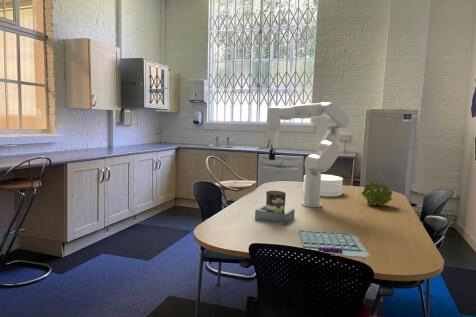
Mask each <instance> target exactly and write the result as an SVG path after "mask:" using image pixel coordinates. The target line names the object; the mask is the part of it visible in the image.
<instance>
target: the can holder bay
mask: <svg viewBox="0 0 476 317" xmlns="http://www.w3.org/2000/svg"><path fill="white" fill-rule="evenodd" d="M295 210H296V208H291V209H290V210H288V211H287V212H286V211H285V212H284V214H283V213H277V212H271V211H266V204H264V205H262V206H259V207H258V208H256V209H255V210H254V220H258V221H263V222H270V223H276V224H280V225H281V224H282V225H288V224H289V223H290V222H291V221H292V220H294V219H295V214H296V213H295V212H296V211H295Z"/></svg>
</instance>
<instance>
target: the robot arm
mask: <svg viewBox="0 0 476 317" xmlns="http://www.w3.org/2000/svg"><path fill="white" fill-rule="evenodd" d="M323 117H326V119H325V125H326V133H325V134H324V136H323V137H322V139H321V140H320V142H319V143H318V144H317V146H316V150H315V151H316V153H317V154H309V155H307V156H306V157H305V160H304V170H305V178H304V179H305V192H303V193H304V195H303V197H304V198H303V201H301V203H300V205H301V206H303V207H307V208H320V207H321V208H322V206H323V203H322V202H320V201H321V200H320V199H321V196H320V187H321V174H322V173H325V172H327V171H328V170H330V168H331V167H332V166H333V164H334V163H335V161H336V160H337V158H338V157H339V155H340V153H341V147H340V145H339V143H338V141H339V140H340V134H341V133H340V129H346V128H347V127H349V124H350V117H349V115H348V114H347V113H345V112H344V111H343V109H342V108H341V107H339V106H338V105H337V104H336V103H334V102H331V101H330V102H314V103H304V104H297V105H290V106H269V107H267V119H266V136H265V145H264V146H265V148H267V150H268V160H269V161H276V152H277V151H276V150H277V148H279V144H280V143H279V142H280V136H279V135H280V133H279V132H280V131H281V120H282V121H291V120H293V119H302V120H303V119H312V118H323Z"/></svg>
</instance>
